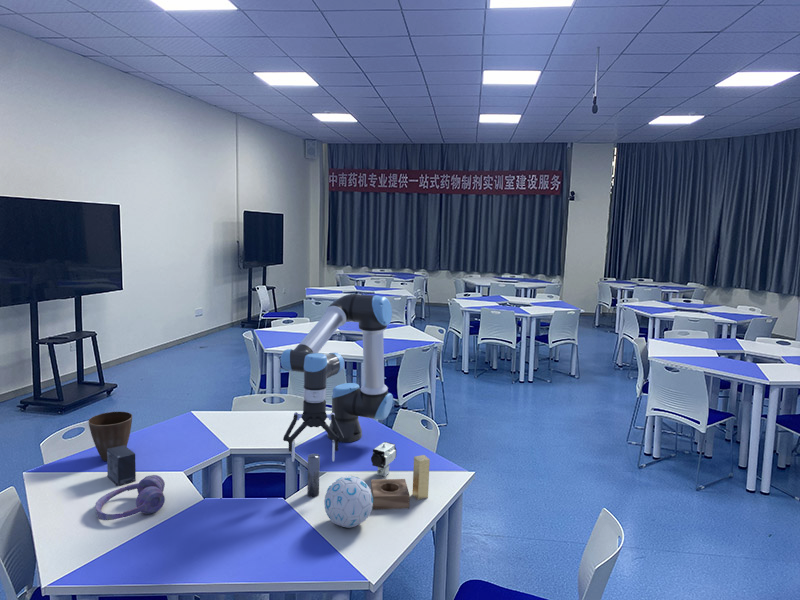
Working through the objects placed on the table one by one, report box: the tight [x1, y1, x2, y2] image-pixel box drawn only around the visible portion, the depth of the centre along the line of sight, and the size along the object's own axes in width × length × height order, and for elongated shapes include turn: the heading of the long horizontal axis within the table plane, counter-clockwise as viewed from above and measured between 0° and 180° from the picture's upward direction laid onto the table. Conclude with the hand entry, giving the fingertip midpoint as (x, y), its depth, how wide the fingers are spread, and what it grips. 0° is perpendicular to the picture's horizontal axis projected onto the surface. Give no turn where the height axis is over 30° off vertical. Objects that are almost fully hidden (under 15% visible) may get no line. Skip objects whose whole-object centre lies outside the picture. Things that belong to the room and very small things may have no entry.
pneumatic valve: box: [370, 441, 397, 477], centre depth 205 cm, size 6×12×12 cm, turn 152°
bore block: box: [370, 478, 410, 510], centre depth 187 cm, size 12×12×4 cm
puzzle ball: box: [324, 475, 373, 529], centre depth 171 cm, size 15×15×15 cm
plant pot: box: [88, 411, 133, 462], centre depth 211 cm, size 15×15×16 cm
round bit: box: [306, 453, 321, 498], centre depth 188 cm, size 4×4×14 cm
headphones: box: [94, 474, 166, 521], centre depth 176 cm, size 18×8×20 cm
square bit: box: [412, 454, 431, 501], centre depth 190 cm, size 4×4×14 cm
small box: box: [106, 445, 137, 487], centre depth 195 cm, size 11×6×10 cm, turn 47°
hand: (313, 459), depth 187 cm, fingers open, 13 cm apart
